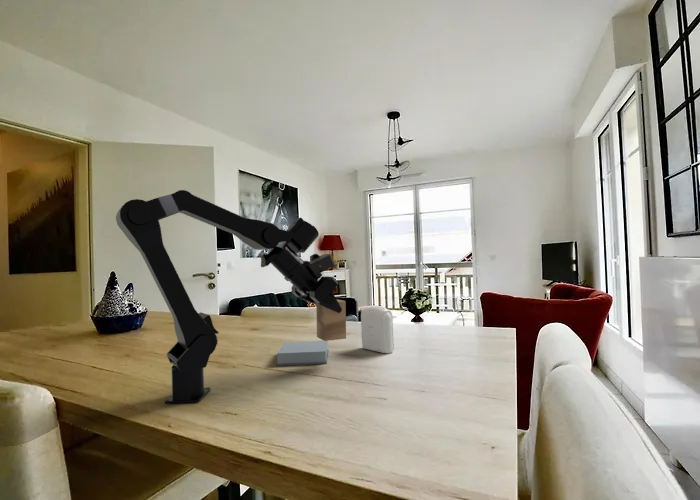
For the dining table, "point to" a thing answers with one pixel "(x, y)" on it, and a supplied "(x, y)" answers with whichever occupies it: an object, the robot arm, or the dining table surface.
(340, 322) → the walnut block
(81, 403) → the dining table surface
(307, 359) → the plinth
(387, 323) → the photo printer
